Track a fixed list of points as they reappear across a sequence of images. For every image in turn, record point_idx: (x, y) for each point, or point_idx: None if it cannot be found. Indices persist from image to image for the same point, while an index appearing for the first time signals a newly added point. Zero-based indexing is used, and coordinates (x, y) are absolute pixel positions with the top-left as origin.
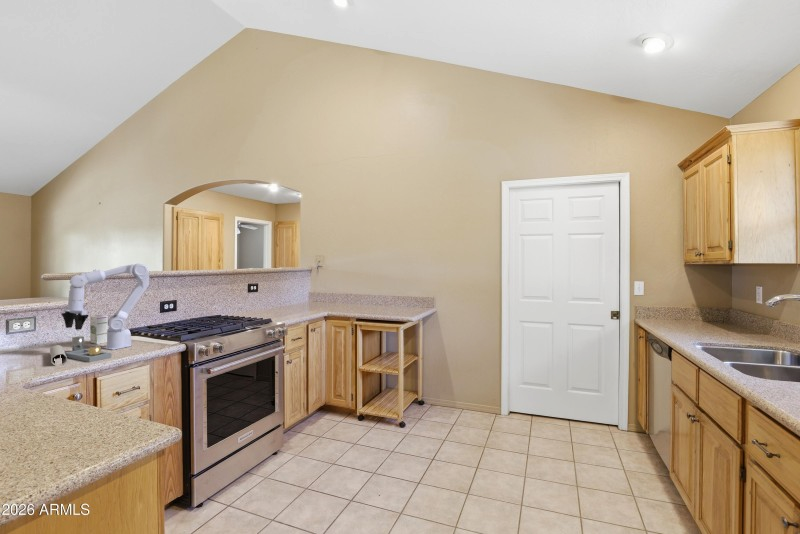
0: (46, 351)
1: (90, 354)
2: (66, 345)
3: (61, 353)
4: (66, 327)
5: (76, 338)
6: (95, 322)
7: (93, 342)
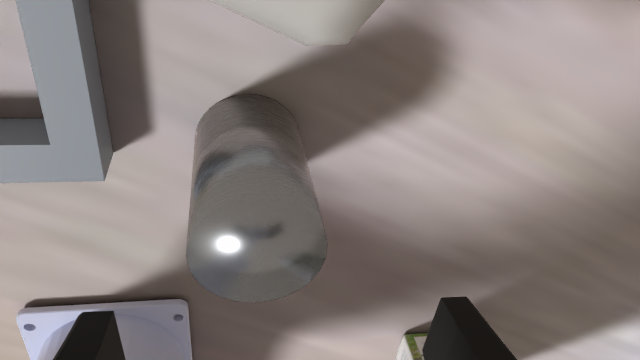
0: (586, 6)
1: None
2: (607, 218)
3: None
4: (451, 301)
5: (206, 215)
6: None
7: None
